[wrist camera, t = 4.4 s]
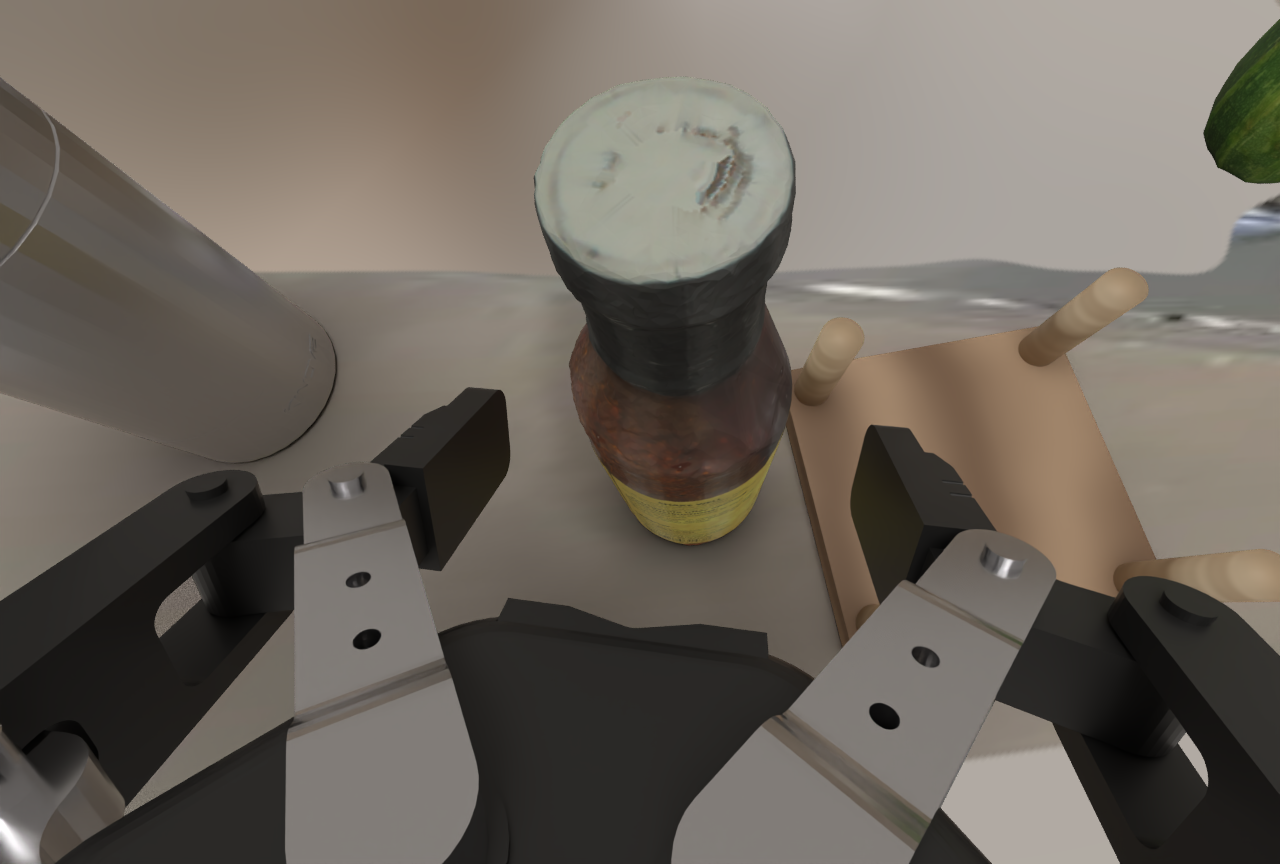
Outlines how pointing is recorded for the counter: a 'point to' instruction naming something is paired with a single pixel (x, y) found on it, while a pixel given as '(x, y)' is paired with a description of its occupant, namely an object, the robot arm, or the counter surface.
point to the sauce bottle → (674, 292)
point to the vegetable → (1249, 115)
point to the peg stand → (993, 452)
